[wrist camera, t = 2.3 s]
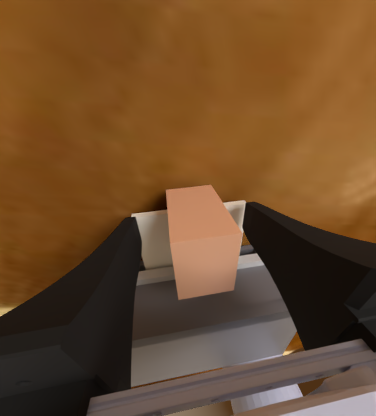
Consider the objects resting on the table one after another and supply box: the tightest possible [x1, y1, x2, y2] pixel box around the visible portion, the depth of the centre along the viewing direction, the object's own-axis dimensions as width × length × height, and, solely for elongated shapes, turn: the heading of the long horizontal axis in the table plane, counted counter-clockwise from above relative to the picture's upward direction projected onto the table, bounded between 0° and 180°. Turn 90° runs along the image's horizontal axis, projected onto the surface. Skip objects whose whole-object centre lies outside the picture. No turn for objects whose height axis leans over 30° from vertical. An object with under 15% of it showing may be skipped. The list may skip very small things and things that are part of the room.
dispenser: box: [131, 245, 297, 387], centre depth 15 cm, size 9×14×6 cm, turn 93°
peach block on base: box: [131, 185, 246, 300], centre depth 12 cm, size 14×8×5 cm, turn 3°
